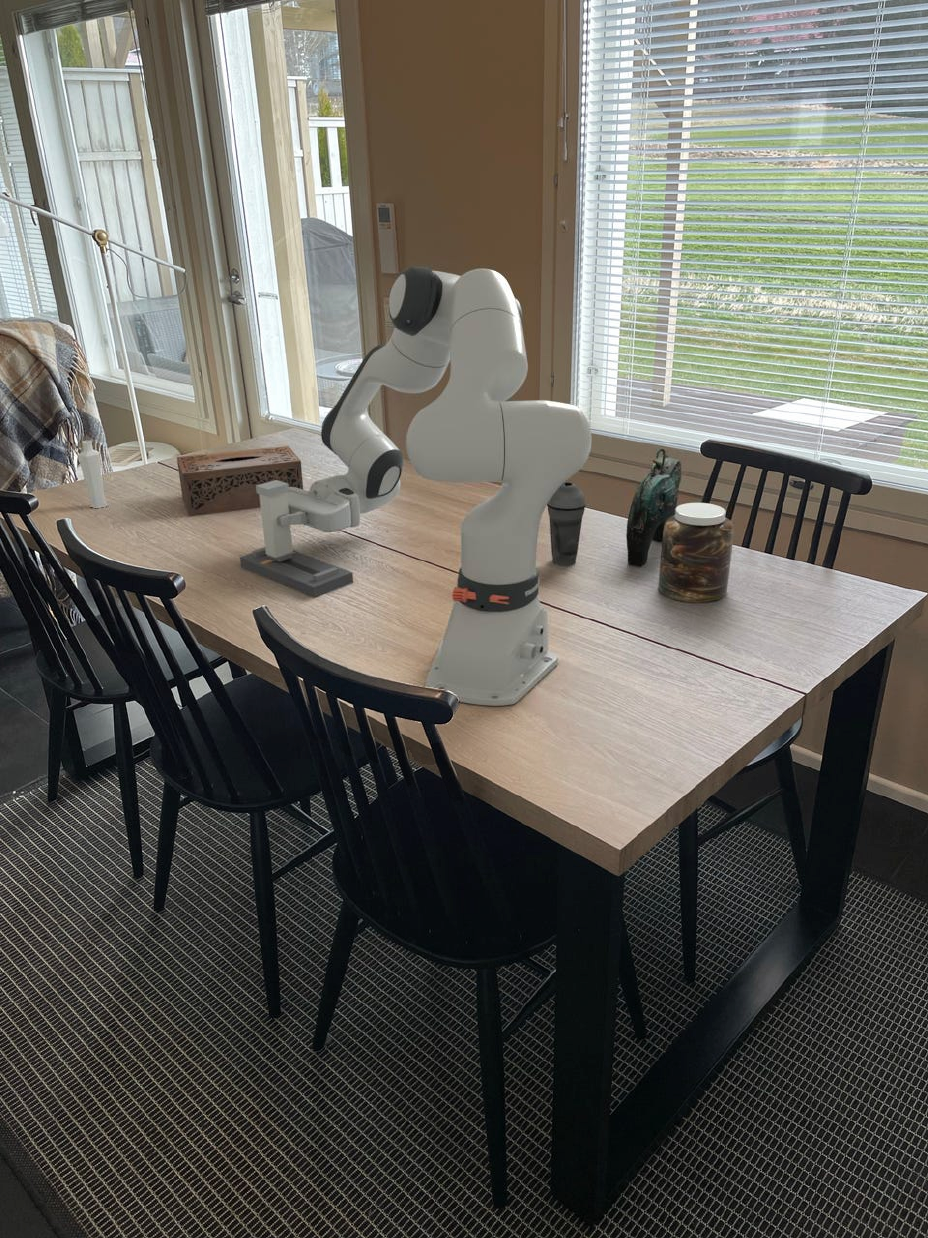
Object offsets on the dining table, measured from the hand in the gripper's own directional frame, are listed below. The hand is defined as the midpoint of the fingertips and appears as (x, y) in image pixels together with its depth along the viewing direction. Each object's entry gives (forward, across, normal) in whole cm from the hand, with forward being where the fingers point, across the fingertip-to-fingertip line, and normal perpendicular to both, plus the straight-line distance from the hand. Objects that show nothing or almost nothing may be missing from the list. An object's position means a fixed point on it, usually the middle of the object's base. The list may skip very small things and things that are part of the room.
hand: (272, 519), depth 172 cm
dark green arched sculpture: (-54, +48, +10) cm, 74 cm away
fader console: (-1, +5, +10) cm, 11 cm away
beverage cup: (-39, +39, +10) cm, 56 cm away
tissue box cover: (-21, -41, +11) cm, 47 cm away
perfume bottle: (+3, -62, +10) cm, 63 cm away
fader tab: (-1, 0, +8) cm, 8 cm away
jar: (-42, +64, +10) cm, 78 cm away
